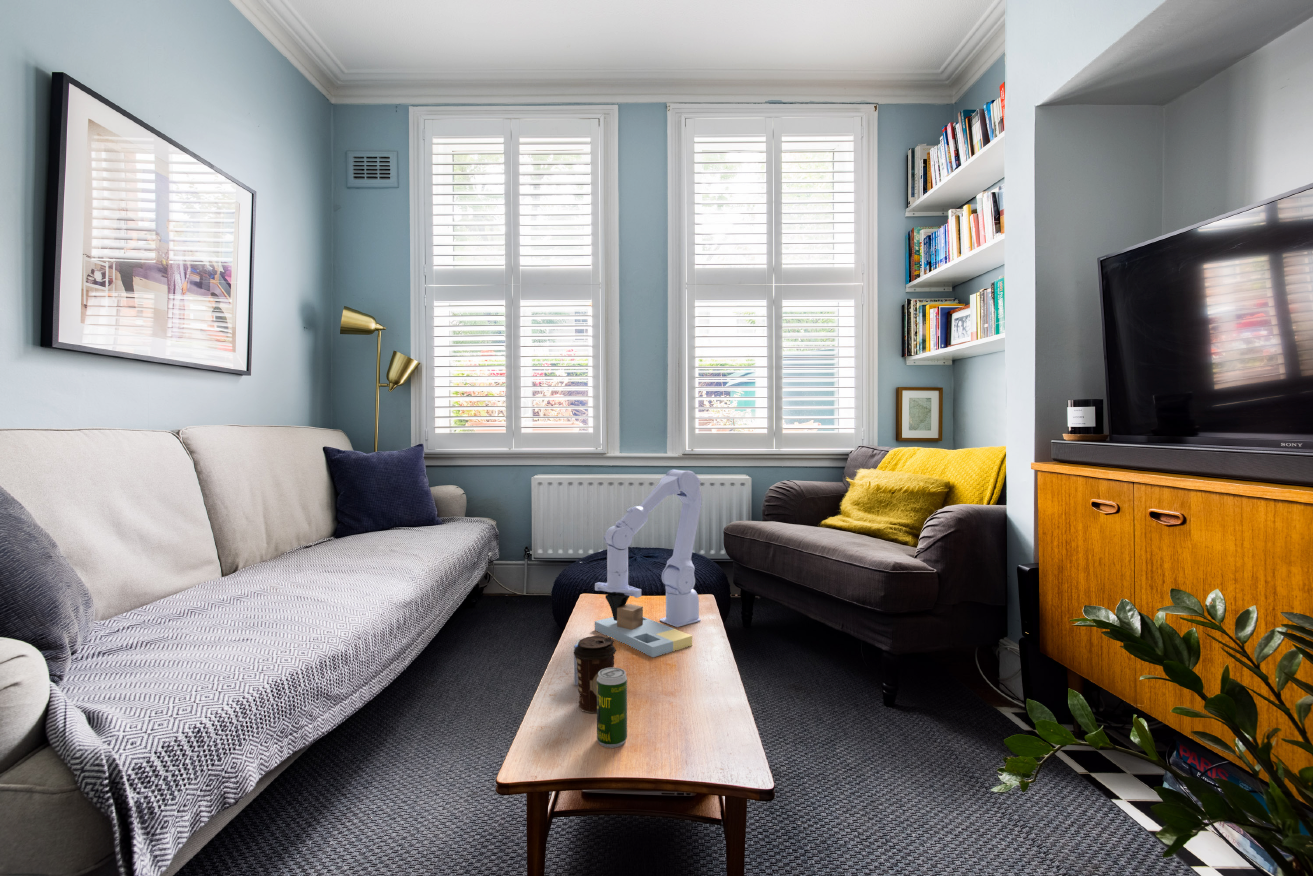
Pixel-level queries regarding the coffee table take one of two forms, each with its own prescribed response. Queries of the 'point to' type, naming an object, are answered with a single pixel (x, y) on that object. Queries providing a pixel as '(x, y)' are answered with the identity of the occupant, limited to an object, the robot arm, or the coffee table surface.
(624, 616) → the walnut cube
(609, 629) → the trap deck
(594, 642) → the coffee cup
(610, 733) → the green drink can
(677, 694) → the coffee table surface
